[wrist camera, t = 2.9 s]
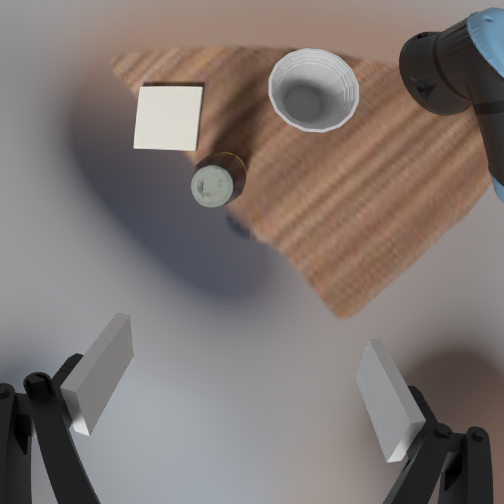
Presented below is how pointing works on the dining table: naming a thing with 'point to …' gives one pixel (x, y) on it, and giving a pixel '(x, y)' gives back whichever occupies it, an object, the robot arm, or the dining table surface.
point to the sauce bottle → (218, 179)
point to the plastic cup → (313, 90)
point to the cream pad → (168, 117)
